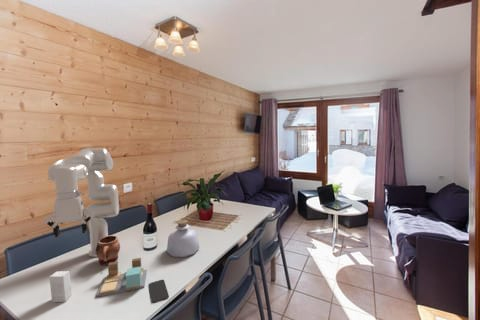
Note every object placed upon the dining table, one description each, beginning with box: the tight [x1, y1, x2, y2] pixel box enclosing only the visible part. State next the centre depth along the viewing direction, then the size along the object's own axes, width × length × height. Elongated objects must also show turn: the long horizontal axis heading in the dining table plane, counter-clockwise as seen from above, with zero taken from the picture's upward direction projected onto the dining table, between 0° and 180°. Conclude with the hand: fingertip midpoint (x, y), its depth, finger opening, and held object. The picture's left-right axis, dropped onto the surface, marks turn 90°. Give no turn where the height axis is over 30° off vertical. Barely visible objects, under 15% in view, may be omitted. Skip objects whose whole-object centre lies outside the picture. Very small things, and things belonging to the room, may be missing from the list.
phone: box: [148, 279, 170, 304], centre depth 107 cm, size 7×1×15 cm
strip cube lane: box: [126, 257, 145, 290], centre depth 114 cm, size 15×6×7 cm, turn 18°
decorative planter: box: [96, 234, 121, 266], centre depth 131 cm, size 20×12×14 cm, turn 25°
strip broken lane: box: [104, 260, 122, 284], centre depth 114 cm, size 7×6×7 cm
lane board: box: [96, 269, 148, 297], centre depth 113 cm, size 14×20×2 cm
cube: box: [126, 266, 142, 288], centre depth 110 cm, size 6×6×6 cm
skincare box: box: [48, 270, 73, 303], centre depth 102 cm, size 6×4×12 cm
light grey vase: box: [166, 219, 200, 258], centre depth 145 cm, size 20×20×19 cm
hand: (71, 233), depth 99 cm, fingers open, 9 cm apart
